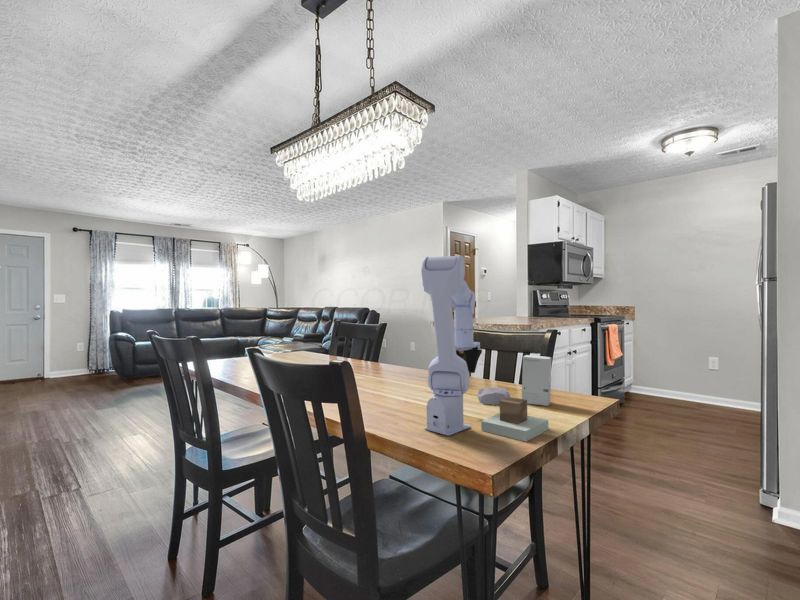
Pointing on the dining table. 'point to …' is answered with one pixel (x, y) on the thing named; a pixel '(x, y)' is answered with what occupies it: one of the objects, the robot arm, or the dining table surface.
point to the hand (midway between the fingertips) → (464, 374)
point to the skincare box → (536, 380)
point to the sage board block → (515, 427)
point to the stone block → (492, 395)
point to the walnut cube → (513, 410)
